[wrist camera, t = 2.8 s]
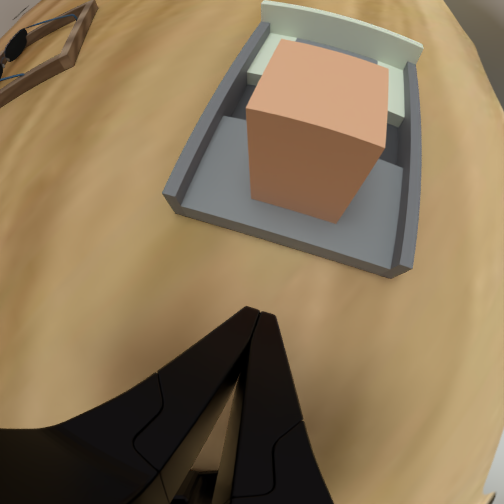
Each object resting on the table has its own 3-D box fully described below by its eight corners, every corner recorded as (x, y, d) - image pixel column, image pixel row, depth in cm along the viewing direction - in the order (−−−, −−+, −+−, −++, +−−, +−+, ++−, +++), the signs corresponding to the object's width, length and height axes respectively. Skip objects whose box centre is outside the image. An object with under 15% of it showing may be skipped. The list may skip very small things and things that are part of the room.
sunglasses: (29, 42, 34) (22, 26, 29) (84, 29, 35) (78, 9, 30) (-16, 103, 29) (-28, 87, 24) (37, 92, 30) (25, 71, 25)
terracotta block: (335, 224, 19) (385, 148, 11) (251, 198, 20) (245, 107, 11) (350, 154, 21) (388, 68, 12) (275, 133, 21) (281, 38, 13)
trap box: (390, 278, 20) (431, 259, 14) (175, 213, 22) (149, 174, 16) (405, 80, 26) (422, 44, 20) (263, 40, 28) (263, 0, 22)
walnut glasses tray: (73, 66, 29) (67, 54, 26) (-31, 130, 28) (-38, 123, 25) (98, 7, 34) (94, -2, 32) (5, 58, 34) (0, 51, 31)
